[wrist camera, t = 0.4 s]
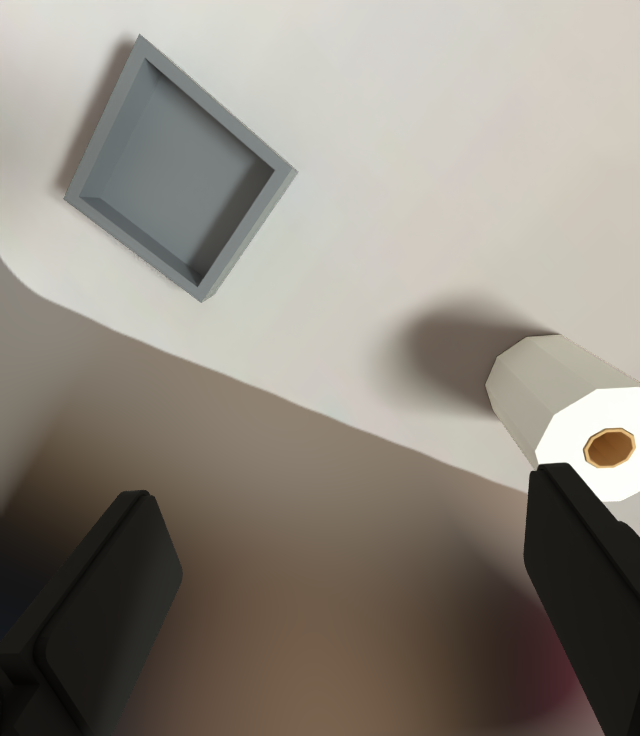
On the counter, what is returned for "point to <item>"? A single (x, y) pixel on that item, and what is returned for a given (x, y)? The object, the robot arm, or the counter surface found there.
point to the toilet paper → (570, 412)
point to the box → (176, 174)
